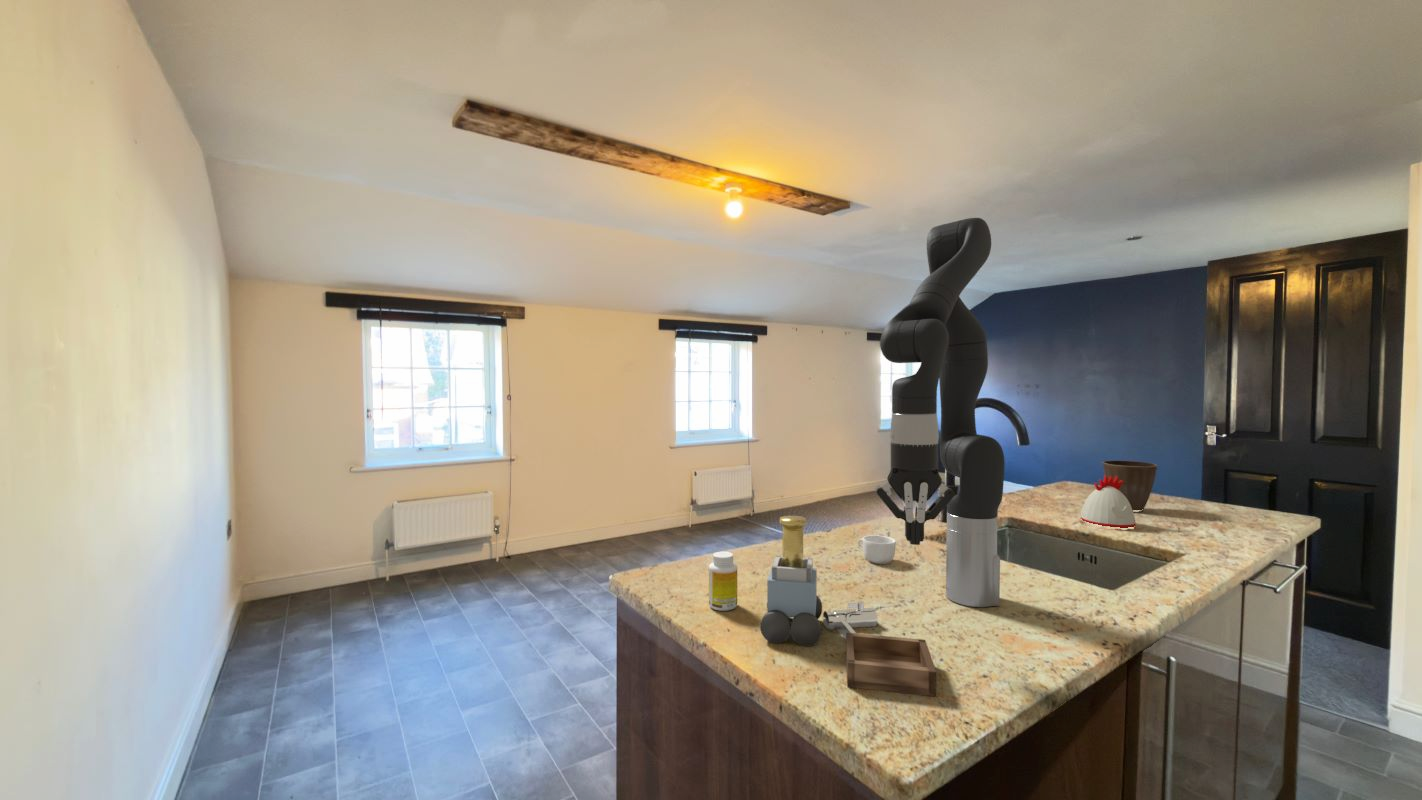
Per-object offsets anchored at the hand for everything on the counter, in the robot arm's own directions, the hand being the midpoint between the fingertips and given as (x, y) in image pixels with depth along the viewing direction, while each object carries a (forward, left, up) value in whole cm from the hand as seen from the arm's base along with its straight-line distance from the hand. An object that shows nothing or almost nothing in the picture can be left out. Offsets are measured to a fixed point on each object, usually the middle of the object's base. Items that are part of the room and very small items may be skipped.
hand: (914, 543), depth 95 cm
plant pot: (-85, -118, -17) cm, 146 cm away
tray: (+5, +12, -17) cm, 21 cm away
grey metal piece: (+9, -1, -17) cm, 20 cm away
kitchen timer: (-69, -95, -17) cm, 119 cm away
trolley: (+20, 0, -17) cm, 26 cm away
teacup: (+3, -44, -17) cm, 47 cm away
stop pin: (+20, 0, -7) cm, 21 cm away
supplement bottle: (+34, -8, -17) cm, 39 cm away
